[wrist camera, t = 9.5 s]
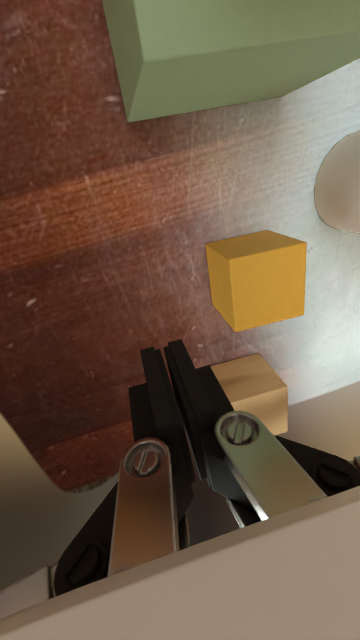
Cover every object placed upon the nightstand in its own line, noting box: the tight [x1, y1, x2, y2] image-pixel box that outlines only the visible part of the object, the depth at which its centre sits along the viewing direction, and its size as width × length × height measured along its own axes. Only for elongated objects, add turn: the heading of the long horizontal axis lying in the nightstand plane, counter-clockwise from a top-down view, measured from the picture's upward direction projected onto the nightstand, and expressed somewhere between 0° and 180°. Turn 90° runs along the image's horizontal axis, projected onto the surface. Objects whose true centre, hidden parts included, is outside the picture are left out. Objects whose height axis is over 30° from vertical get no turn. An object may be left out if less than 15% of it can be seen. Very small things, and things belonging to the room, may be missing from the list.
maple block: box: [210, 353, 288, 435], centre depth 25 cm, size 5×5×5 cm
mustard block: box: [205, 230, 307, 332], centre depth 21 cm, size 5×5×5 cm
